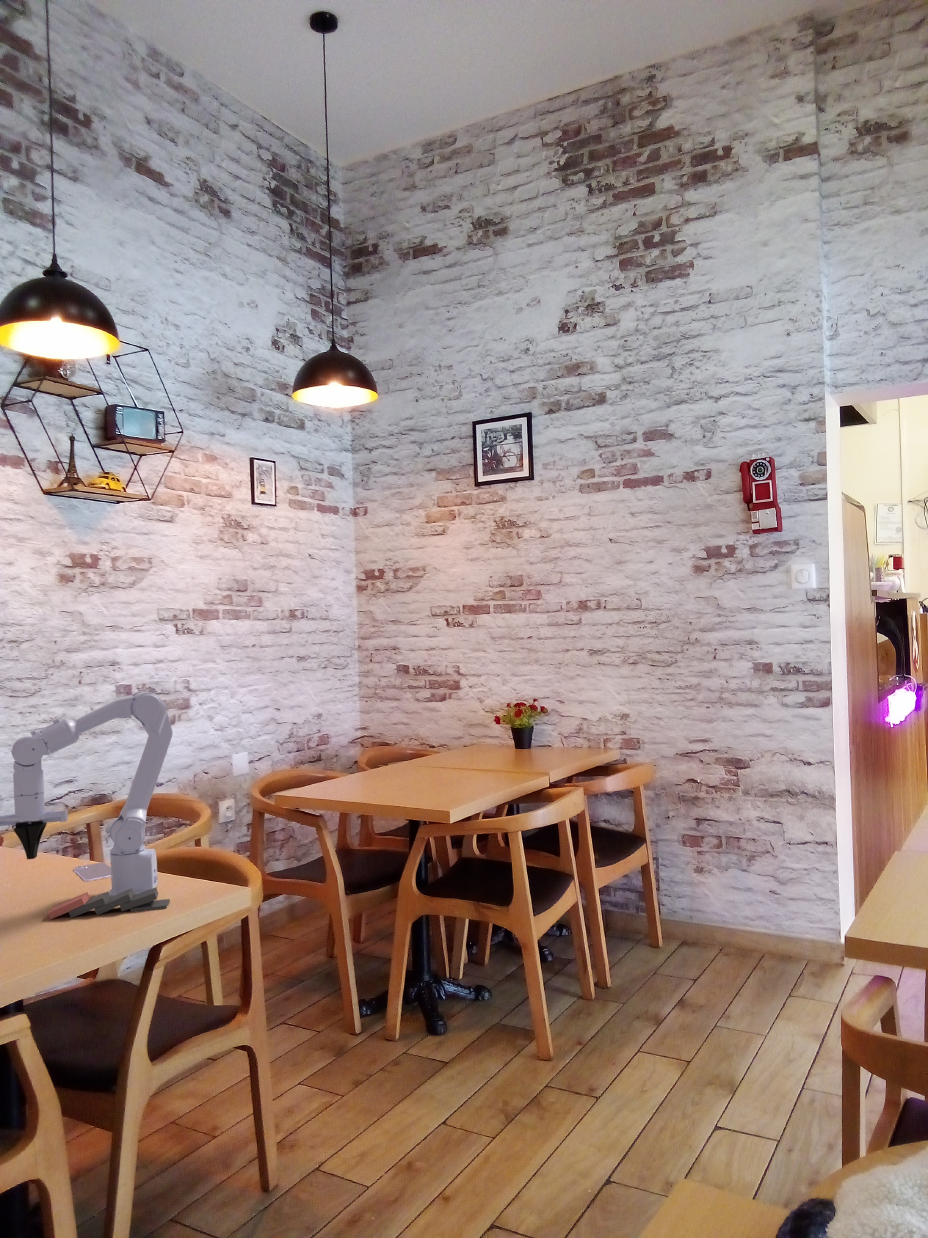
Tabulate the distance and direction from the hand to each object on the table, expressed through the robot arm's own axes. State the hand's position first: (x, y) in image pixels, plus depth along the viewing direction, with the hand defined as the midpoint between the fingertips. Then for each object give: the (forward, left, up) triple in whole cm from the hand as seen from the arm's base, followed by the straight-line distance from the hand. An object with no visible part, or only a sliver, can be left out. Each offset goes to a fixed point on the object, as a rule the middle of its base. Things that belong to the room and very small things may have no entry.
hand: (32, 858), depth 187 cm
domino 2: (-15, +8, -10) cm, 19 cm away
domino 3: (-19, +8, -10) cm, 23 cm away
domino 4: (-22, +8, -10) cm, 25 cm away
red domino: (-6, +8, -10) cm, 14 cm away
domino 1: (-10, +8, -10) cm, 16 cm away
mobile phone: (-6, -26, -11) cm, 29 cm away
